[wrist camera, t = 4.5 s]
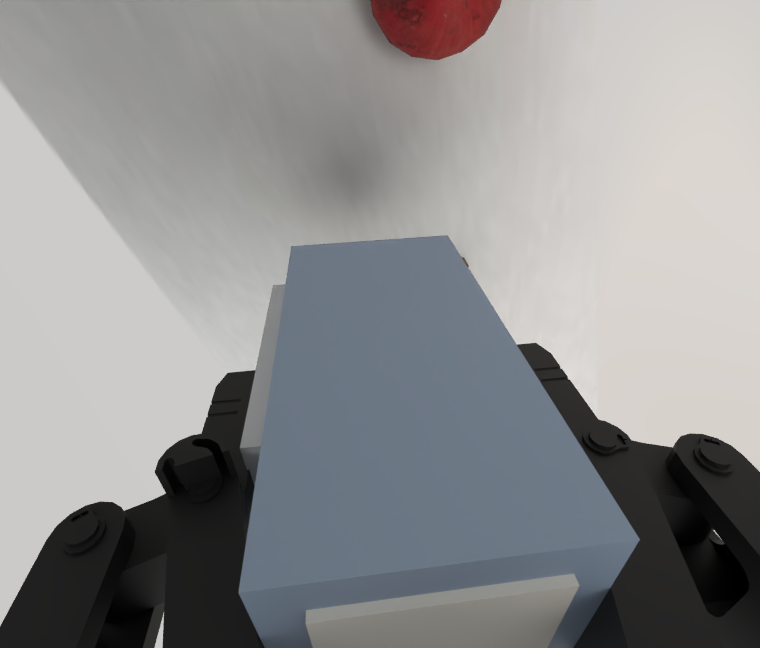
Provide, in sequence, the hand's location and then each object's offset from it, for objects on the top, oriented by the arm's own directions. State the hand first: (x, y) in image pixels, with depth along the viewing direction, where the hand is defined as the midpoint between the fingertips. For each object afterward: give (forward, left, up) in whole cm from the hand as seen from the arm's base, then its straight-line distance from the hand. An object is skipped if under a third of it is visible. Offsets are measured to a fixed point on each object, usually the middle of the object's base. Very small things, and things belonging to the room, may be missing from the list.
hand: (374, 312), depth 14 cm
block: (0, 0, 0) cm, 0 cm away
